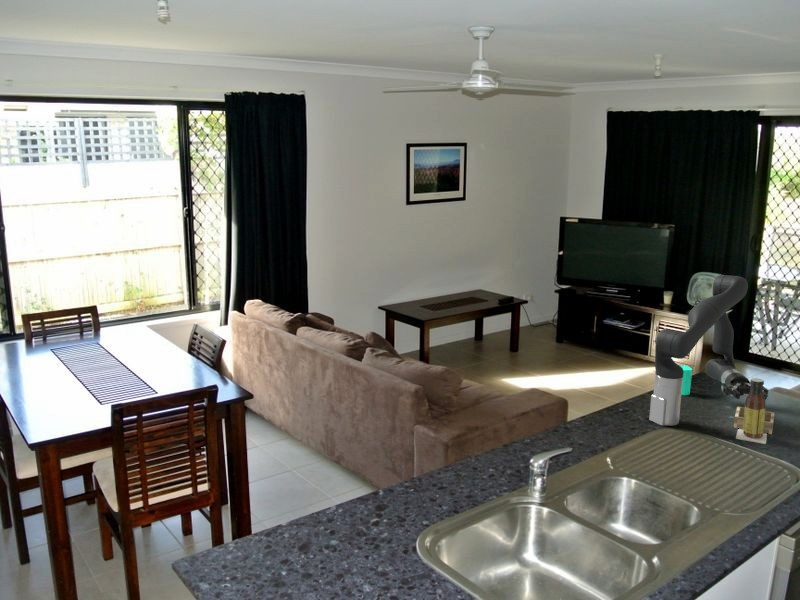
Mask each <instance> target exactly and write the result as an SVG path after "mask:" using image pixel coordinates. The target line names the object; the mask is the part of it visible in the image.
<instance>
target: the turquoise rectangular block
mask: <svg viewBox="0 0 800 600" xmlns="http://www.w3.org/2000/svg"><path fill="white" fill-rule="evenodd" d="M680 366H681V367H682V368H683V371H684V373H683V383H682V393H681V396H689V395H691V387H692V385H691V384H692V377H693V376H692V375H693V368H691V367H690V366H688V365H686V364H684V365H680Z"/></svg>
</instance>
